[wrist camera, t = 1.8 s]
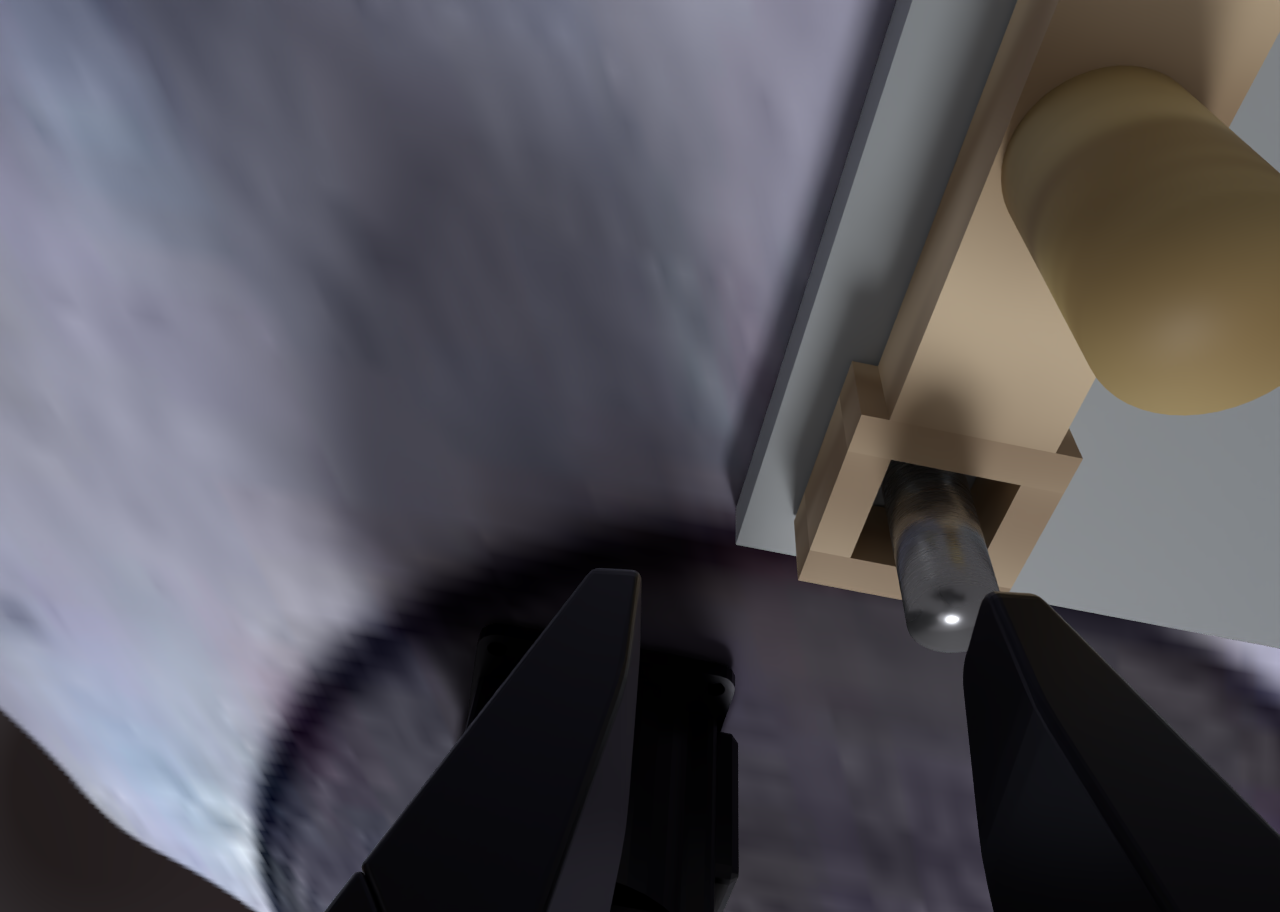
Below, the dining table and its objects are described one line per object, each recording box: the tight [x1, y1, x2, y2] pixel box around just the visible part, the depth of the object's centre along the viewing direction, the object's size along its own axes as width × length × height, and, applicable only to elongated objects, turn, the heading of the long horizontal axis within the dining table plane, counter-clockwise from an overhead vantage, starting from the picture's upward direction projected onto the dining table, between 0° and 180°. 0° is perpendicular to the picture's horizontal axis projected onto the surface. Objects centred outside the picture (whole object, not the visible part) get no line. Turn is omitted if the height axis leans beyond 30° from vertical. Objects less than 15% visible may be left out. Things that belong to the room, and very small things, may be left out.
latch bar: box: [794, 0, 1280, 600], centre depth 15 cm, size 14×4×6 cm, turn 169°
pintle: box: [881, 460, 1000, 653], centre depth 19 cm, size 2×2×4 cm
